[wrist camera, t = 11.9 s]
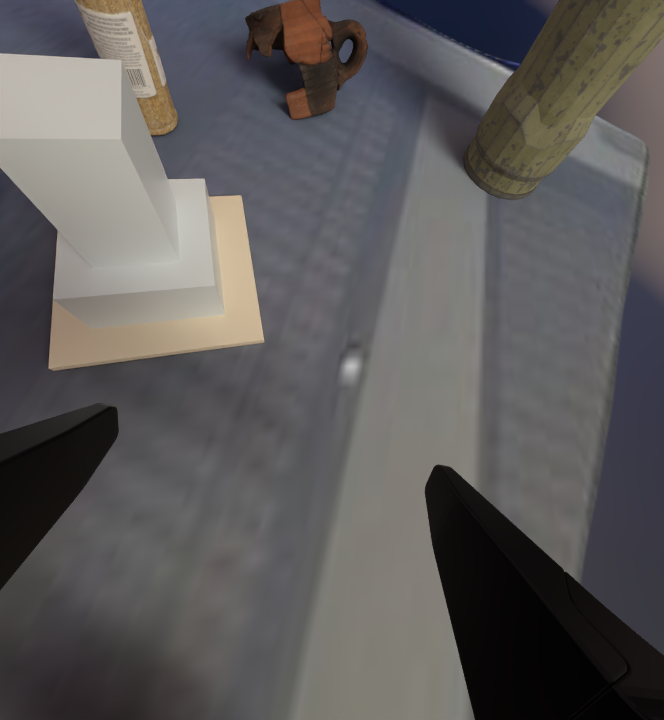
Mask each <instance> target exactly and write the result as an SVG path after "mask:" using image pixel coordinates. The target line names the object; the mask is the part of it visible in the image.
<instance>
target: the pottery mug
mask: <svg viewBox="0 0 664 720" xmlns="http://www.w3.org/2000/svg"><path fill="white" fill-rule="evenodd" d="M245 20H246V23H247V25H248V28H249V31H250V32H249V38H248V40H247V47H246V54H247V59H248V60H250V59H251V53H252V51H253V49H255V50H257V51H258V50H259V51H260V53H261V54H262V55H264V56H266V57H270V56H271V55H272V49H276V50H283V51H284V54H285V56H286V58H287V59H288V61H289V63H290V64H294V62H296V63H298V66H299V70H300V72H301V76H302V79H303V87H302V88H300V89H299V90H296V91H293V92H290V93H287V94H286V101H287V104H288V107H289V112H290V116H291V119H293V120H294V119H301V118H306V117H309V116H314V115H317V114H322V113H326V112H328V111H330V110H332V109H333V108H334V106H335V97H336V92H337V90H339V89H340V87H341V86H342V84H343V83H344V82H345V81H346V80H348V79H350V78H351V77H352V76H354V75H355V74H356V73H357V72H358V71H359V69H360V68H361V66H362V64H363V62H364V60H365V58H366V54H367V49H368V44H367V41H366V33H365V30H364V29H363V27H362V26H361V24H360V23H359V22H357V21H354V20H343V21H340V22H332V21H329V20H327V18H326V17H325V16H323V15H322V13H321V7H320V0H292V1H288V2H285V3H282V4H277V5H273V6H270V7H266V8H264V9H260V10H258V11H256V12H253V13H251V14H250V15H248V16H247V17H246V18H245ZM347 39H350V40H352V42H353V50H352V53H351V55H350V57H349V59H348V60H347V62H346V63H342V62H341V61H340V58H339V51H340V49H341V47H342V45H343V43H344V42H345V41H346V40H347ZM329 41H331V45H332V49H331V46H330V44H329Z"/></svg>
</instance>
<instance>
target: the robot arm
mask: <svg viewBox="0 0 664 720" xmlns="http://www.w3.org/2000/svg"><path fill="white" fill-rule="evenodd" d="M118 432H119V428H118V412H117V408H116V407H115V406H113V405H108V404H103V403H97V404H94V405H91V406H88V407H84V408H81V409H78V410H75V411H72V412H69V413H65V414H62V415H59V416H56V417H53V418H50V419H46V420H43V421H40V422H37V423H34V424H31V425H27V426H24V427H21V428H18V429H15V430H12V431H8V432H5V433H2V434H0V590H1V589H2V588H3V586H4V585H5V584H6V583H7V581H8V580H9V579H10V578H11V577H12V575H13V574H14V573H15V572H16V570H17V569H18V568H19V567H20V566H21V564H22V563H23V562H24V561H25V559H26V558H27V557H28V556H29V555H30V553H31V552H32V551H33V550H34V548H35V547H36V546H37V545H38V544H39V542H40V541H41V540H42V539H43V537H44V536H45V535H46V534H47V533H48V531H49V530H50V529H51V528H52V526H53V525H54V524H55V523H56V522H57V520H58V519H59V518H60V517H61V515H62V514H63V513H64V512H65V511H66V509H67V508H68V507H69V506H70V504H71V503H72V502H73V501H74V500H75V498H76V497H77V496H78V494H79V493H80V492H81V491H82V489H83V488H84V486H85V485H86V484H87V482H88V481H89V479H90V478H91V476H92V475H93V473H94V472H95V470H96V469H97V467H98V466H99V464H100V463H101V461H102V460H103V458H104V457H105V455H106V454H107V452H108V451H109V449H110V448H111V446H112V445H113V443H114V442H115V440H116V438H117V436H118ZM425 497H426V504H427V511H428V519H429V526H430V533H431V539H432V545H433V550H434V554H435V559H436V563H437V567H438V571H439V575H440V579H441V583H442V587H443V591H444V595H445V599H446V603H447V608H448V612H449V616H450V620H451V624H452V628H453V632H454V636H455V640H456V644H457V648H458V652H459V657H460V661H461V665H462V669H463V673H464V677H465V681H466V685H467V689H468V693H469V697H470V701H471V705H472V710H473V714H474V718H475V720H664V655H663V654H661V653H660V652H659V651H658V650H656V649H655V648H654V647H653V646H652V645H650V644H649V643H648V642H647V641H646V640H644V639H643V638H642V637H641V636H640V635H638V634H637V633H636V632H635V631H633V630H632V629H631V628H630V627H629V626H628V625H626V624H625V623H624V622H622V620H621V619H619V618H618V617H617V616H616V615H615V614H613V613H612V612H611V611H610V610H609V609H607V608H606V607H605V606H604V605H603V604H602V603H601V602H599V601H598V600H597V599H596V598H595V597H594V596H593V595H592V594H590V593H589V592H588V591H587V590H586V589H585V588H584V587H582V586H581V585H580V584H579V583H578V582H577V581H576V580H575V579H574V578H573V577H572V576H570V575H569V574H568V573H567V572H564V570H563V568H562V567H560V566H559V565H558V564H557V563H556V562H555V561H554V560H553V559H552V558H550V557H549V556H548V555H547V554H546V553H545V552H544V551H543V550H542V549H541V548H539V547H538V546H537V545H536V544H535V543H534V542H533V541H532V540H531V539H529V538H528V537H527V536H526V535H525V534H524V533H523V532H522V531H521V530H520V529H518V528H517V527H516V526H515V525H514V524H513V523H512V522H511V521H510V520H508V519H507V518H506V517H505V516H504V515H503V514H502V513H501V512H500V511H499V510H497V509H496V508H495V507H494V506H493V505H492V504H491V503H490V502H489V501H487V500H486V499H485V498H484V497H483V496H482V495H481V494H480V493H479V492H478V491H476V490H475V489H474V488H473V487H472V486H471V485H470V484H469V483H468V482H466V481H465V480H464V479H463V478H462V477H461V476H460V475H459V474H458V473H457V472H455V471H454V470H453V469H452V468H451V467H449V466H443V465H436V466H435V467H434V468H433V470H432V472H431V475H430V477H429V479H428V481H427V483H426V486H425Z"/></svg>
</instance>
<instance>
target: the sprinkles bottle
mask: <svg viewBox="0 0 664 720" xmlns="http://www.w3.org/2000/svg"><path fill="white" fill-rule="evenodd" d="M74 1H75V3H76V5H77V8H78V10H79V12H80V14H81V17H82V19H83V21H84V23H85V26H86V28H87V30H88V32H89V35H90V37H91V39H92V41H93V44H94V46H95V48H96V51H97V53H98V55H99V57H100V59H111V60H122V63H123V65H124V68H125V70H126V73H127V76H128V78H129V81H130V83H131V86H132V88H133V91H134V94H135V96H136V99H137V101H138V104H139V107H140V109H141V112H142V114H143V117H144V119H145V122H146V125H147V127H148V130H149V132H150V135H163V134H166V133H168V132H170V131H172V130H173V129H174V128H175V127H176V125H177V120H178V115H177V112H176V110H175V108H174V106H173V103H172V100H171V97H170V93H169V90H168V87H167V83H166V77H165V74H164V70H163V67H162V64H161V60H160V57H159V54H158V51H157V47H156V44H155V40H154V37H153V35H152V33H151V30H150V26H149V23H148V20H147V17H146V14H145V10H144V7H143V4H142V0H74Z"/></svg>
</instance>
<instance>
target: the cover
mask: <svg viewBox="0 0 664 720" xmlns="http://www.w3.org/2000/svg"><path fill="white" fill-rule="evenodd" d="M0 168H1V169H2V170H3V171H4V172H5V173H6V174H7V176H8V177H9V178H10V179H11V180H12V181H13V182H14V183H15V184H16V185H17V186H18V187H19V189H20V190H21V191H22V192H23V193H24V194H25V195H26V196H27V197H28V198H29V199H30V200H31V202H32V203H33V204H34V205H35V206H36V207H37V208H38V209H39V210H40V211H41V212H42V213H43V215H44V216H45V217H46V218H47V219H48V220H49V221H50V222H51V223H52V224H53V225H54V226H55V228H56V229H57V230H58V239H57V251H56V264H55V276H54V289H53V300H54V301H55V302H57V303H58V304H59V305H61V306H62V307H63V308H64V309H66V310H67V311H68V312H70V313H71V314H72V315H74V316H75V317H76V318H78V319H79V320H80V321H82V322H83V323H84V324H86V325H87V326H88V327H90V328H91V329H95V328H104V327H114V326H124V325H133V324H143V323H152V322H162V321H171V320H181V319H190V318H200V317H209V316H219V315H225V307H224V298H223V288H222V279H221V270H220V261H219V251H218V242H217V233H216V224H215V218H214V214H213V210H212V206H211V202H210V198H209V195H208V191H207V187H206V183H205V179H167V176H166V174H165V171H164V169H163V166H162V163H161V161H160V158H159V156H158V153H157V150H156V148H155V145H154V143H153V140H152V138H151V135H150V132H149V130H148V127H147V125H146V122H145V119H144V117H143V114H142V112H141V109H140V107H139V104H138V101H137V99H136V96H135V94H134V91H133V88H132V86H131V83H130V81H129V78H128V76H127V73H126V70H125V68H124V65H123V63H122V60H111V59H92V58H74V57H55V56H36V55H17V54H0Z"/></svg>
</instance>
